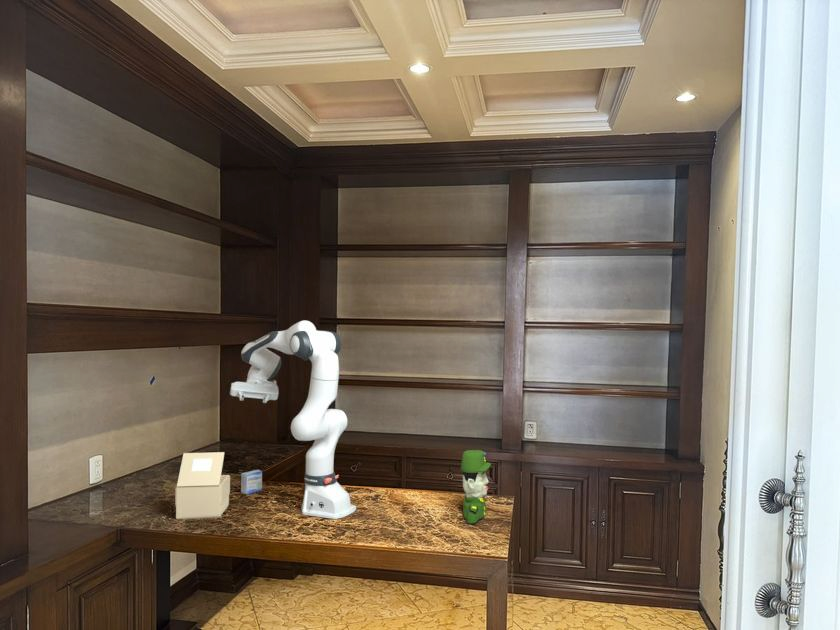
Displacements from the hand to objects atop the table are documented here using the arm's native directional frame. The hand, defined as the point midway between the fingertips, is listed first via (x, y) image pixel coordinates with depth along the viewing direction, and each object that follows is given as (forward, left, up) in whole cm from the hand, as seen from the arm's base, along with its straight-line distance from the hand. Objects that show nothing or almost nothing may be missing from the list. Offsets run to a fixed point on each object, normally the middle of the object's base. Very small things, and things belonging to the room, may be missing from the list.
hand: (253, 400), depth 223 cm
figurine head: (-90, -31, -42) cm, 104 cm away
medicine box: (+7, -6, -42) cm, 42 cm away
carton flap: (+2, +24, -24) cm, 34 cm away
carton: (+4, +21, -41) cm, 47 cm away
